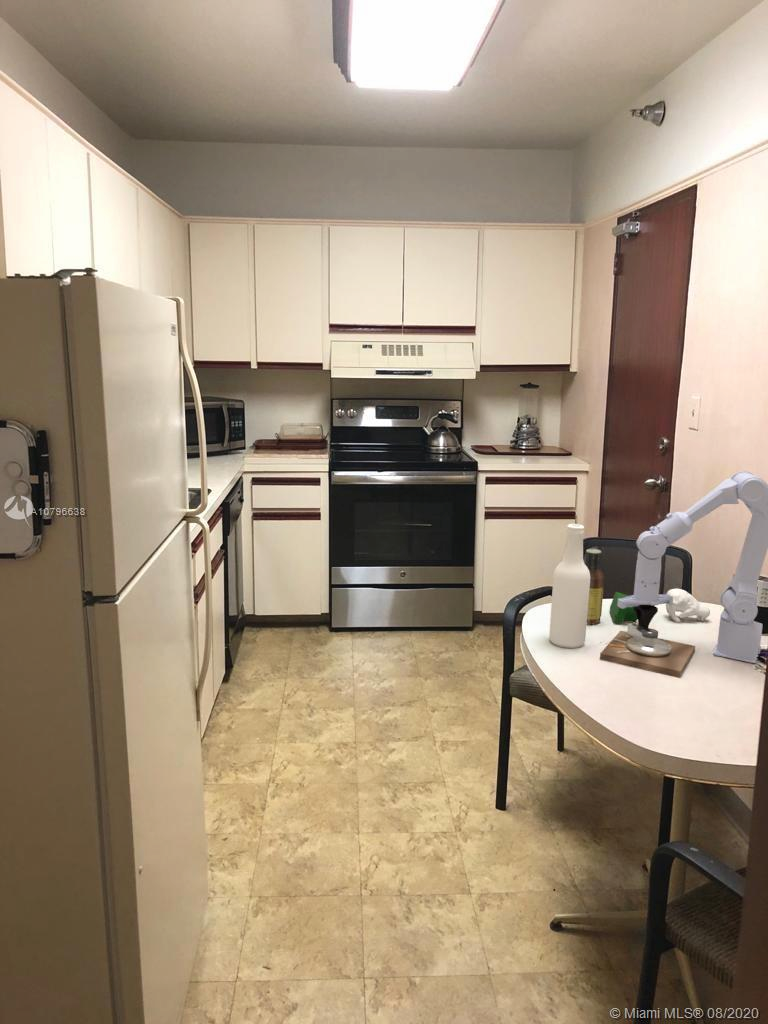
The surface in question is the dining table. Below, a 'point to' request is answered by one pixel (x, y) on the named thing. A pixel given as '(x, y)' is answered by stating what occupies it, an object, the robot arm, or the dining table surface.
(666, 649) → the dial
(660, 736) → the dining table surface
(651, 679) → the dining table surface
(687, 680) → the dining table surface
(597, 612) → the sauce bottle
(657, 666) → the dial plate
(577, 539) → the white bottle
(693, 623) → the dining table surface
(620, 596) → the clamp
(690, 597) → the white lumpy piece
